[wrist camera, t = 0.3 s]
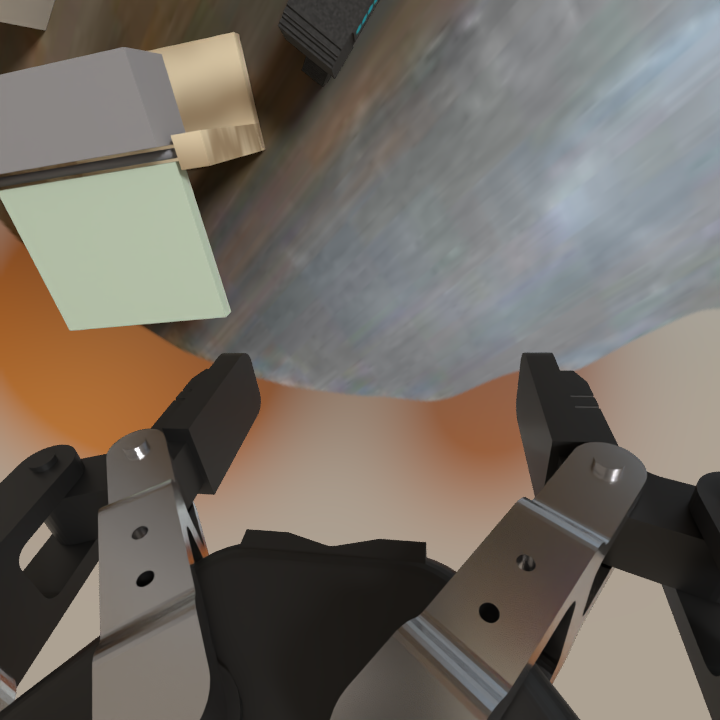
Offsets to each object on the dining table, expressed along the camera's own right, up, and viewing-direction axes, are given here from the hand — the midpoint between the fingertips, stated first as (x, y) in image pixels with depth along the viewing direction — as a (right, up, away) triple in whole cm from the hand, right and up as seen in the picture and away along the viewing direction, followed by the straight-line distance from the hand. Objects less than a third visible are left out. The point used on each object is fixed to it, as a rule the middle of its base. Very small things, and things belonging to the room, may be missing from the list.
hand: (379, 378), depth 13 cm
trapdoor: (-19, +12, +20) cm, 30 cm away
